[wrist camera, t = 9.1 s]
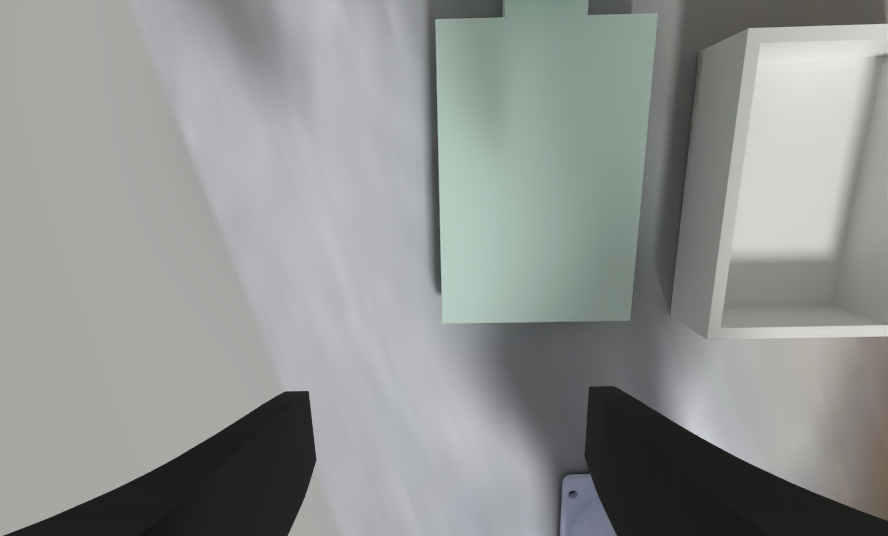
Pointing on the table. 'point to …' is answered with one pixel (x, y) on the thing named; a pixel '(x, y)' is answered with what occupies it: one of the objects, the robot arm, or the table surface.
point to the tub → (787, 186)
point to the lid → (541, 161)
